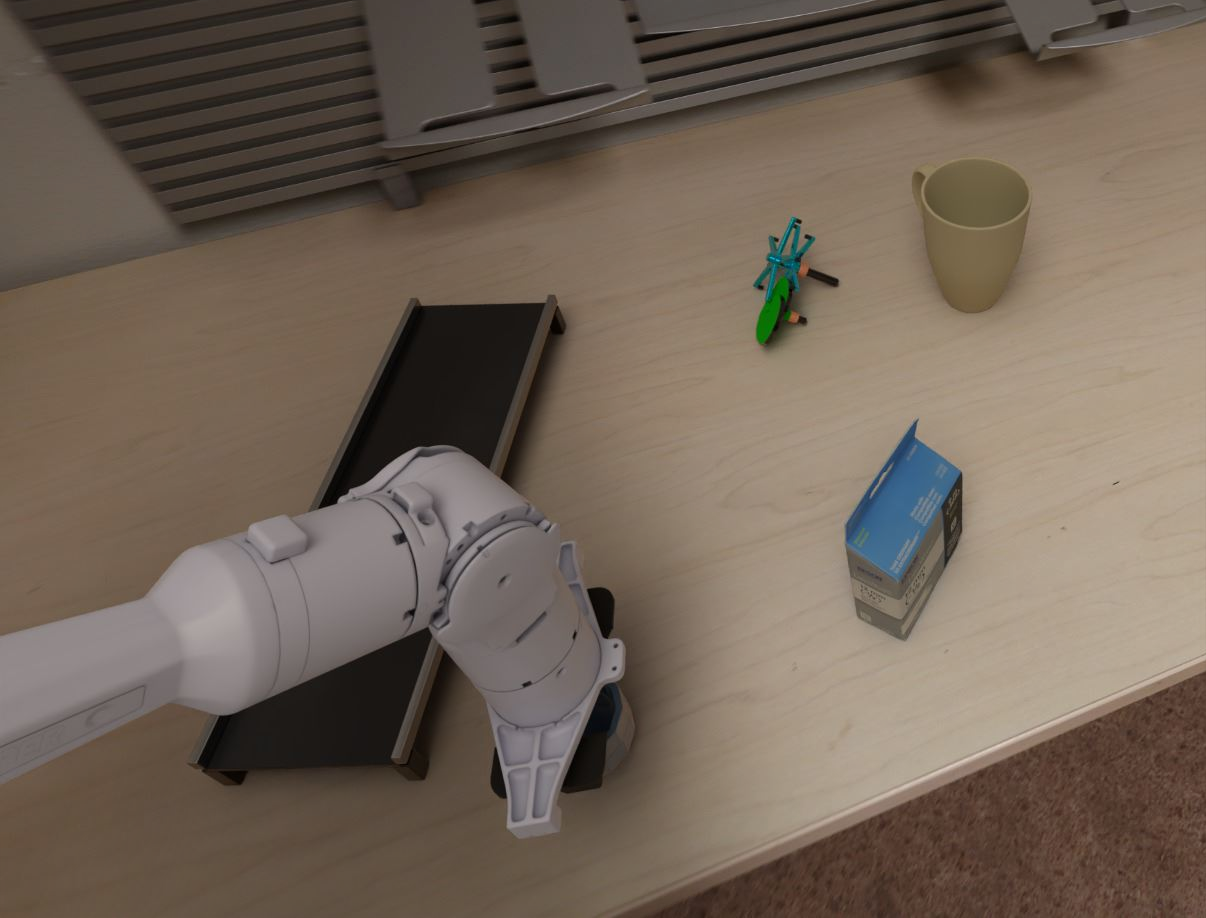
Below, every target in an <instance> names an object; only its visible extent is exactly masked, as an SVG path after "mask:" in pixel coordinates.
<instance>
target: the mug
mask: <svg viewBox="0 0 1206 918" xmlns="http://www.w3.org/2000/svg"><path fill="white" fill-rule="evenodd" d="M911 187H912V188H911V189H912V195H913V199H914V202H915V205H916V207H917V210H918V212H919V214H920V216H921V218H922V222H923V235H924V243H925V249H926V250H925V251H926V254H927V258H928V261H929V264H930V267H931V269H932V272H933V274H934V276H935V278H936V280H937V282H938V284H939V287H940V289H941V293H942V294H943V296H944V299H945V300H946V302H947V304H948V305H950V306H951V307H952V308H954V309H956V310H958V311H960V312H964V313H969V314H970V313H971V314H973V313H974V314H975V313H981V312H985V311H987V310H989V309H990V308H991V307H993V306H994V305H995V303H996V302H997V301H998V299H999V297H1000V295H1001V294H1002V292H1003V290H1004V288H1005V287H1006V285H1007V283H1008V281H1009V280H1010V278H1011V276H1012V275H1013V273H1014V271H1015V269H1016V266H1017V265H1018V263H1019V259H1020V256H1021V253H1022V250H1023V246H1024V242H1025V236H1026V233H1027V226H1028V221H1029V218H1030V217H1029V216H1030V211H1031V207H1032V202H1033V190H1032V187H1031V184H1030V182H1029V180H1028V178H1027V177H1026V176H1025V175H1024V174H1023V173H1022V172H1021V171H1020V170H1018V169H1017V168H1016V167H1015V166H1012V165H1010V164H1009V163H1006V162H1004V161H1001V160H998V159H996V158H995V159H994V158H989V157H984V156H983V157H982V156H967V157H960V158H955V159H950V160H948V161H946V162H944V163H941V164H939V165H938V166H936V165H934V164H933V163H924V164H921V165H919V166H918V167H916V168H915V169H914V171H913V173H912V176H911Z"/></svg>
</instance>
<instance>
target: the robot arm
mask: <svg viewBox="0 0 1206 918" xmlns="http://www.w3.org/2000/svg"><path fill="white" fill-rule="evenodd" d="M584 564H585V555H584V553H583V551H582V549H581V546H580V545H579V543H578V541H577V540H576V539H573V540H567V541H562V530H561V525H560V523H559V522H554V523H551V521H550V520H548V518H547V516H546V515H545V514H544V513H543V512H542V511H541V510H540V509H538V508H537V507H536V506H535V505H534V504H532V503H531V502H530V501H529V500H528V499H526V498H525V497H524V496H523V495H521V494H520V493H519V492H517V491H516V490H515V489H513V487H511V486H510V485H509V484H508V483H506V482H505V481H504V480H502V478H501V477H500V478H499V477H497V476H496V475H495V474H494V473H492V472H491V471H490V470H489V469H488V468H486V467H485V466H484V465H483V464H481V463H480V462H479V461H478V460H477V459H475V458H474V457H472V456H471V455H468V454H466V453H465V452H463V451H462V450H460V449H459V448H456V447H453V446H447V445H438V446H432V447H417V448H414V449H412V450H410V451H408V452H407V453H405V454H403V455H401V456H400V457H398V458H397V459H395V460H394V461H392V462H391V463H390V464H388V465H387V466H386V467H385V468H384V469H382V470H381V471H380V472H379V473H378V474H377V475H376V476H375V477H374V478H373V479H371V480H370V481H369V482H367V483H365V484H364V485H361V486H359V487H356V488H353V489H350V490H349V493H348V494H347V495H345V496H342V497H340V498H339V499H338V503H337V504H335V505H332V506H328V507H325V508H322V509H318V510H315V511H312V512H308V511H307V512H305V513H302V514H299V515H295V516H291V517H290V516H289V515H288V514H280V515H277V516H273V517H270V518H266V519H263V520H260V521H257V522H253V523H251V524H250V525H249V526H248V528H247V530H245V531H241V532H238V533H235V534H231V535H228V536H224V537H222V538H218V539H215V540H212V541H207V542H204V543H201V544H197V545H194V546H192V547H190V548H187V549H185V550H184V551H182V552H181V553H180V554H179V555H178V556H177V557H176V558H175V559H174V560H173V561H172V563H171V564H170V565H169V566H168V568H167V569H166V570H165V571H164V572H163V573H162V575H161V576H160V577H159V579H158V580H157V581H156V582H155V584H153V586H152V587H151V588H150V589H149V591H147V593H146V594H145V595H144V596H143V597H142V598H139V599H135V600H132V601H128V602H124V603H120V604H117V605H113V606H112V605H111V606H108V607H105V608H102V609H98V610H94V611H90V612H86V613H82V614H79V615H75V616H71V617H68V618H64V619H60V620H56V621H52V622H48V623H44V624H41V625H37V626H32V627H29V628H26V629H22V630H18V631H13V632H10V633H6V634H2V635H0V786H2V785H4V784H6V783H8V782H10V781H12V780H15V779H16V778H18V777H20V776H23V775H24V774H27V773H28V772H29V773H30V772H31V771H33V770H36V769H37V768H39V767H41V766H43V765H45V764H47V763H50V762H52V761H54V760H55V759H58V758H60V757H62V756H64V755H65V754H67V753H69V752H72V751H74V750H76V749H78V748H80V747H82V746H85V745H86V744H88V743H90V742H92V741H94V740H97V739H98V738H100V737H103V736H104V735H107V734H109V733H110V732H112V731H115V730H117V729H119V728H121V727H122V726H124V725H127V724H129V723H131V722H133V721H135V720H138V719H140V718H142V717H143V716H145V715H147V714H150V713H152V712H153V711H156V710H158V709H159V708H161V707H164V706H166V705H168V704H176V705H179V706H182V707H186V708H190V709H194V710H197V711H201V712H205V713H207V714H209V715H210V714H215V715H230V714H234V713H237V712H239V711H241V710H243V709H245V708H248V707H250V706H252V705H254V704H257V703H259V702H261V701H263V700H265V699H268V698H270V697H272V696H274V695H277V694H279V693H281V692H283V691H286V690H288V689H290V688H292V687H295V686H297V685H299V684H301V683H304V682H306V681H308V680H310V679H312V678H315V677H317V676H319V675H321V674H324V673H326V672H328V671H330V670H333V669H335V668H337V667H339V666H342V665H344V664H346V663H348V662H350V661H353V660H355V659H357V658H359V657H362V656H364V655H366V654H368V653H371V652H373V651H375V650H377V649H380V648H382V647H384V646H386V645H388V644H391V643H393V642H395V641H398V640H400V639H402V638H404V637H406V636H409V635H411V634H413V633H415V632H418V631H420V630H422V629H424V628H427V627H429V630H430V632H431V633H432V635H433V636H434V638H435V639H436V640H437V641H438V643H439V644H440V645H441V646H442V647H443V648H444V651H445V652H446V653H447V655H448V656H449V657H450V658H451V659H452V661H453V662H454V663H455V664H456V666H457V667H458V668H459V670H461V672H463V674H464V675H465V676H466V677H467V679H468V680H469V681H470V683H471V684H472V685H473V686H474V687H475V688H476V690H477V691H478V693H480V695H481V696H482V697H483V698H484V699H485V703H486V708H487V712H488V716H489V720H490V725H491V730H492V735H493V738H494V742H495V747H494V749H493V756H492V765H491V772H490V778H489V779H490V782H489V783H490V788H491V790H492V791H493V793H494V794H495V795H496V797H498V798H499V799H502V800H507V813H506V815H507V816H506V829H507V830H508V831H509V832H510V833H511V834H512V835H513V836H514V837H515V838H517V839H518V840H524V839H529V838H537V837H542V836H546V835H547V836H548V835H551V834H557V833H560V832H561V830H562V817H563V810H562V808H560V806H559V805H558V800H559V796H560V793H564V794H565V795H570V794H575V793H580V792H588V791H592V790H597V789H598V790H599V789H600V788H601V787H602V786H603V779H604V776H603V772H604V768H605V761H606V744H607V732H601V733H595V734H590V735H584V736H582V734H583V732H584V729H585V727H586V724H587V722H588V719H589V717H590V715H591V712H592V710H593V707H594V705H595V702H596V700H597V697H598V695H599V692H600V690H601V688H602V687H603V686H604V685H605V684H607V683H612V682H615V683H616V682H619V681H620V680H621V679H622V678H623V677H624V675H625V671H626V659H627V658H626V657H627V654H626V653H627V650H626V645H625V643H624V642H623V640H621V638H616V637H614V638H609V637H610V635H611V634H612V631H613V630H614V623H615V609H616V608H615V605H616V599H615V597H614V595H613V593H612V592H611V590H610V589H608V588H607V587H604V586H603V587H602V586H596V587H590V588H587V586H586V584H585V581H584V577H583V574H582V571H583V570H584Z"/></svg>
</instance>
